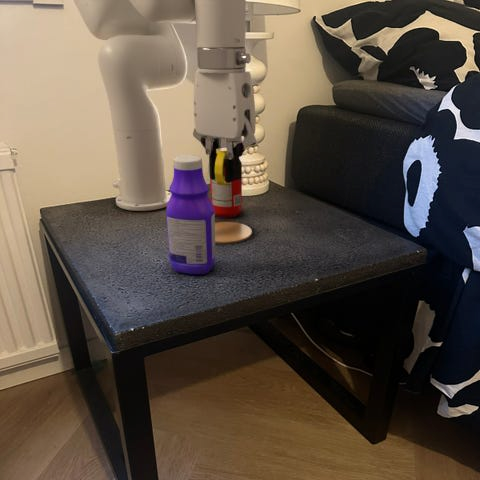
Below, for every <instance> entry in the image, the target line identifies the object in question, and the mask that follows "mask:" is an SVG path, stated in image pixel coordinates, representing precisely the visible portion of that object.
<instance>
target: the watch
mask: <svg viewBox="0 0 480 480" xmlns="http://www.w3.org/2000/svg"><path fill="white" fill-rule="evenodd" d="M216 153H217V157H216V162H215V178H216V182H217V184H218V185H227V184H228V183H226V181H225V177H224V178H223V163H224V158H225V159H227V158H228V157H227V147H221V148H218V149H216Z"/></svg>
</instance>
